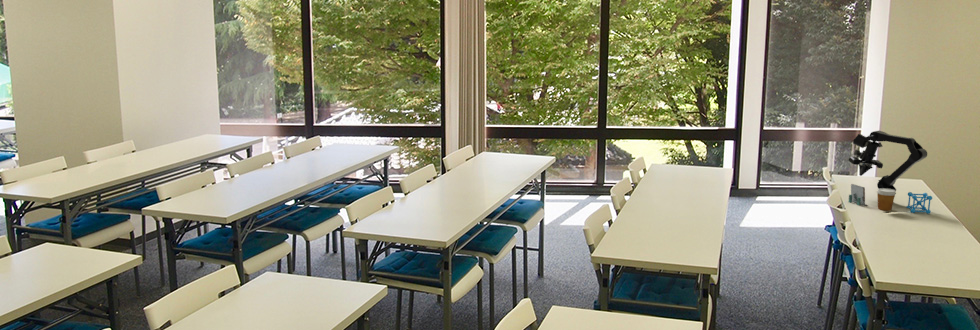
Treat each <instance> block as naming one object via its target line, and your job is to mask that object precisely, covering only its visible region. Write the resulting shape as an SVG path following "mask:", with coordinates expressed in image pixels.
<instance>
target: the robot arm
mask: <svg viewBox="0 0 980 330" xmlns="http://www.w3.org/2000/svg"><path fill="white" fill-rule="evenodd" d="M852 141H853V142H852V143H853V145H854V146H857V147H859V148H862V149H863V150H862V151H860V150H859V149H855V151H854V153H853V155H854V156H849V157H848V161H849V162H850V163H851V164H852V165H856V166H858V167H859V169H858V170H859V171H858V173H859V176H860V177H861V176H863V175H864V174H866V173H867V172H868V171H869V170H872V169H873V168H874V167H873V166H876V168H878V169H882V168H883V166H884V163H882V162H881V161H880V160H878V159H874V158H876V156H877V155H876V153H877V150H878V148H882V147H883V144H882V142H889V143H892V144H893V143H895V144H901V145H906V147H907V149H908V152H909V153H910V154H909V156H908V157H907V159H906V160H905V161H904V162H903V163H902V164H901V165H900V166H898V168H896V169H895V170H894V171H893V172H892V173H891V174H887V175H884V176H882V177H881V178H880V179H878V180H877V190H878V189H880V188H886V189H893V190H895V192H896V191H897V188H896V187H895V186H894V184H895V183H896V181H897V180H898V179H899V178H900V177H901V176H903V175H904V174H905V173H906V172H907V171H908V170H909V169H911V168H912V167H913V166H914V165H915V164H917V163H919V162H921V161H922V160H924V159H926V158H927V157H928V151H927V150H926V149H925V148H923V146H922V145H921V144H920V143H919V142H917V141H916V139H915V138H913V137H906V136H900V135H894V134H890V133H887V132H885V131H882V130H875V131H871V132H870V134H869V135H867V136H865V135H863V134H861V133H857V135H856V136H855V138H854V139H853V140H852ZM864 148H865V149H864ZM896 193H897V192H896ZM893 204H895V202H894V201H893Z"/></svg>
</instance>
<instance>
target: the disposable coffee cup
mask: <svg viewBox="0 0 980 330" xmlns="http://www.w3.org/2000/svg"><path fill="white" fill-rule="evenodd" d="M876 194H877V210H879V211H883V213H886V214H887V213H888V214H889V213H890V212H891V211H892V209H893V208H892V207H893V206H894V203H893V202H894V201H895V196H896V194H897V192H895V190H893V189H886V188H880V189H878V188H877V190H876Z"/></svg>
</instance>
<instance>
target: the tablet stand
mask: <svg viewBox="0 0 980 330" xmlns="http://www.w3.org/2000/svg"><path fill="white" fill-rule="evenodd" d="M847 202H848V203H849V204H850V203H853V202H852V195H851V194H848V201H847ZM860 202H861V198H860V197H858V198H857V203H856V206H861V204H860ZM863 206H864V207H868V206H869V205H868V204H866V203H865V204H864V205H863Z"/></svg>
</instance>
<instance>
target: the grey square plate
mask: <svg viewBox="0 0 980 330" xmlns="http://www.w3.org/2000/svg"><path fill="white" fill-rule="evenodd" d="M865 190H866V189H865V187H864V186H861V185H857V184H854V183H851V184H850V195H852V202H851V203H856V204H857V198H858V197H860V198H861V202H860V206H864V204H866V192H865Z"/></svg>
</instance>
